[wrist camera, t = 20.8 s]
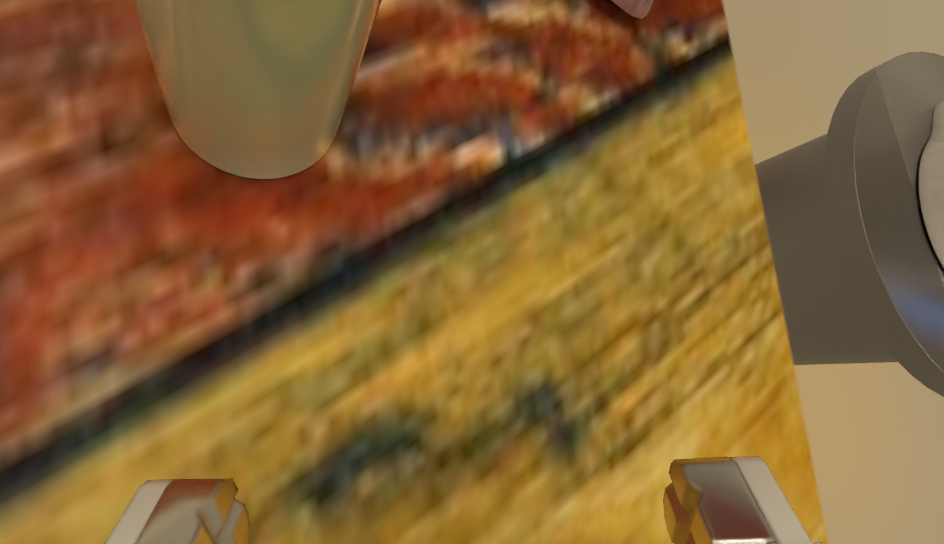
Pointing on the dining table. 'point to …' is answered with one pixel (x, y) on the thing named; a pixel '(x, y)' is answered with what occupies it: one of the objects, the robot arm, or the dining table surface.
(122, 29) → the dining table surface
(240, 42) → the jar
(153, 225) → the dining table surface
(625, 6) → the red white cross box
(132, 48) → the dining table surface
